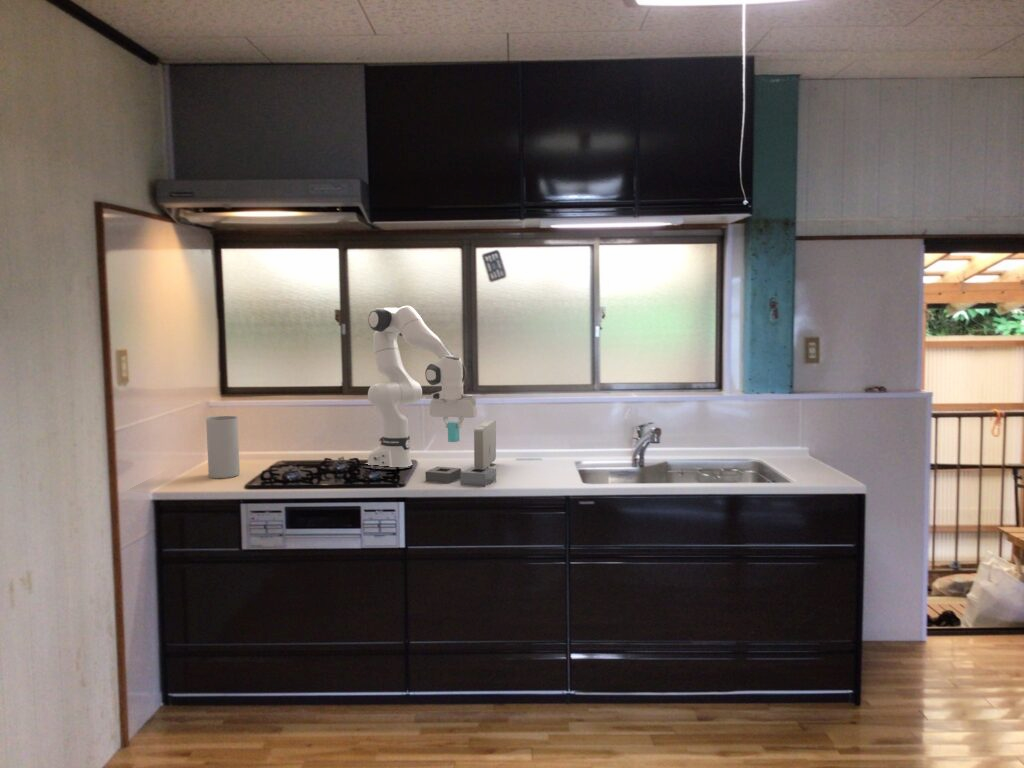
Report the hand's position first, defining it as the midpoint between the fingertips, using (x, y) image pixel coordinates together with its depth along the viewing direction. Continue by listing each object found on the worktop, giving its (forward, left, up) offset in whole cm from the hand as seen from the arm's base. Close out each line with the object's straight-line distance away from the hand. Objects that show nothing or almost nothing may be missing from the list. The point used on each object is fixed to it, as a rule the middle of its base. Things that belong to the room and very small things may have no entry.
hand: (453, 427), depth 316 cm
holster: (-5, 0, -22) cm, 23 cm away
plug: (0, 0, -6) cm, 6 cm away
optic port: (+11, 0, -22) cm, 25 cm away
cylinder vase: (-97, -27, -22) cm, 103 cm away
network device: (+2, +26, -22) cm, 35 cm away
